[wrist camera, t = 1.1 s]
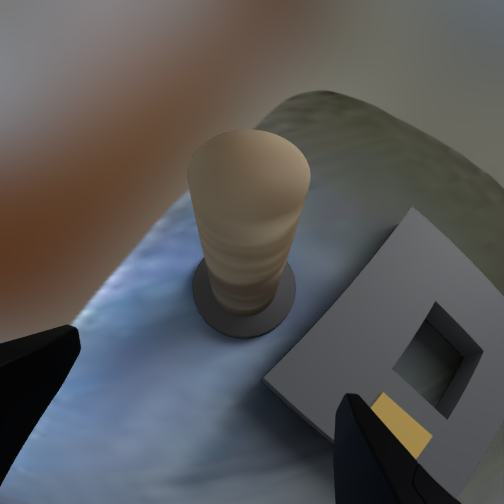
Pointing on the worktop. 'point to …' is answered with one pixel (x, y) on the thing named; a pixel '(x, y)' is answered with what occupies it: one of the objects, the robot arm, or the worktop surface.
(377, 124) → the worktop surface
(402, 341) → the hole plate
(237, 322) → the pad
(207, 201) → the beech peg
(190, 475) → the worktop surface
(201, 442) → the worktop surface
